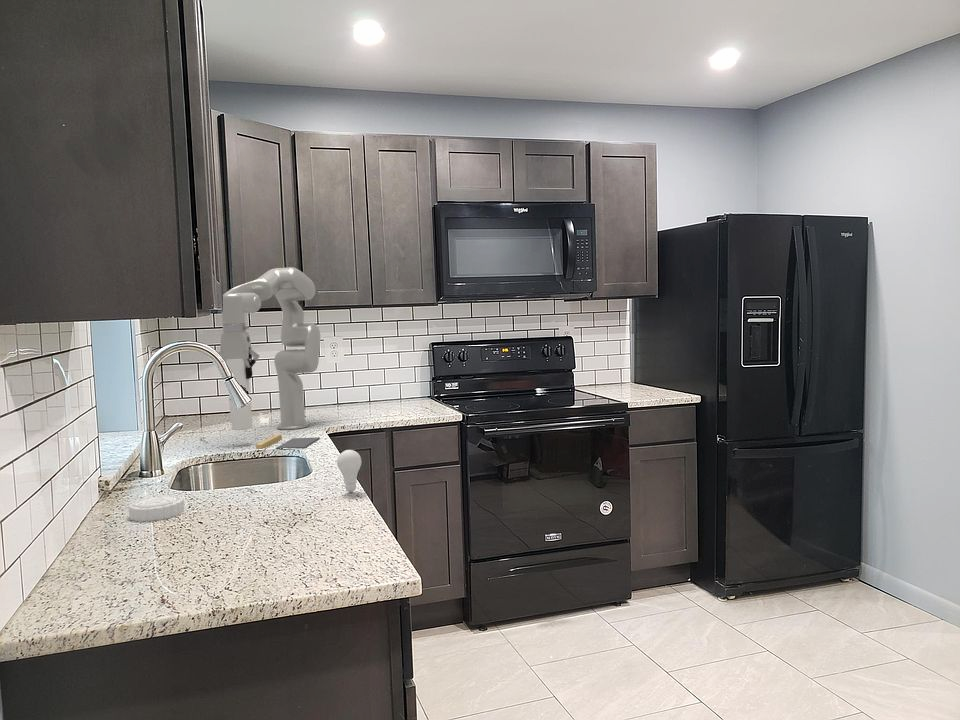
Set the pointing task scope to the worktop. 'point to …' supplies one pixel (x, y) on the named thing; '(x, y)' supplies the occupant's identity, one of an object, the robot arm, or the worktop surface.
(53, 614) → the worktop surface
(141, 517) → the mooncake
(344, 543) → the worktop surface
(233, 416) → the grey tall block
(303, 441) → the mat
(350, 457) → the lightbulb
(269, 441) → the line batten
